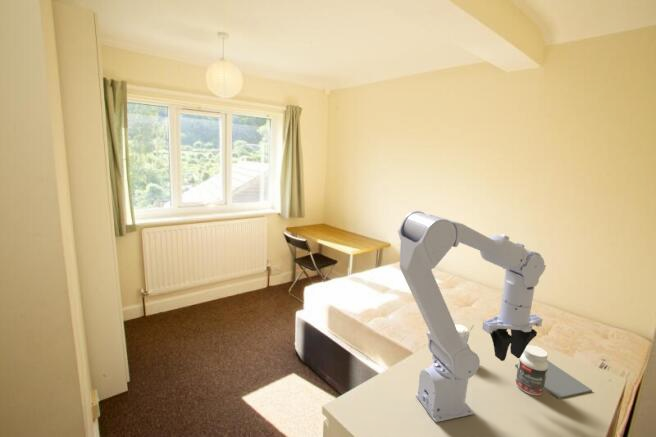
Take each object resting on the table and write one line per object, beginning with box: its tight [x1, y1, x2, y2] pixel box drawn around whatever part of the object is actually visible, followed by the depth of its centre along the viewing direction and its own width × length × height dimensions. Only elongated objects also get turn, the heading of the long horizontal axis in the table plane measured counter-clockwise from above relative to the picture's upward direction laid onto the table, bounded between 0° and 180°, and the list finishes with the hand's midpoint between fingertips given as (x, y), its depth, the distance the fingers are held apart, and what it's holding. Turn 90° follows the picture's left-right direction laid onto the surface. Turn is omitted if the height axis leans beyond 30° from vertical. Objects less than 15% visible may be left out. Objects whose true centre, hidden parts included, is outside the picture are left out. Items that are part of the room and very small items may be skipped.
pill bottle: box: [515, 344, 549, 396], centre depth 75 cm, size 6×6×10 cm
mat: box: [514, 359, 593, 400], centre depth 80 cm, size 10×12×1 cm
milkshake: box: [455, 324, 474, 343], centre depth 86 cm, size 4×5×10 cm
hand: (507, 356), depth 72 cm, fingers open, 4 cm apart
